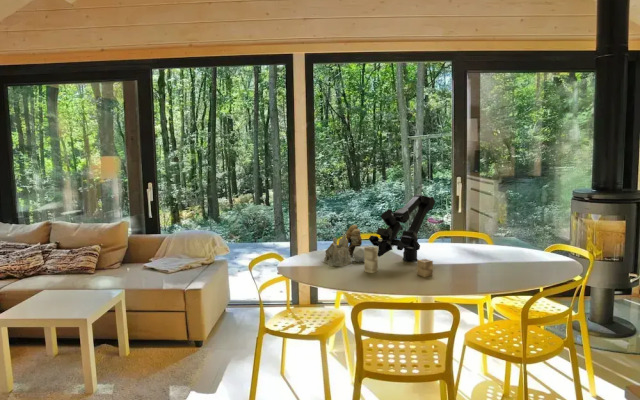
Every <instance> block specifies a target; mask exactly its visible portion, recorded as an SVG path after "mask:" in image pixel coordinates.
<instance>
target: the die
mask: <svg viewBox="0 0 640 400" xmlns="http://www.w3.org/2000/svg"><path fill="white" fill-rule="evenodd" d="M365 247H366V246H360V247H355V249H354V252H353V256H352V257H353V259H354V261H355V263H365Z"/></svg>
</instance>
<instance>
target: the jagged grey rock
mask: <svg viewBox="0 0 640 400" xmlns="http://www.w3.org/2000/svg"><path fill="white" fill-rule="evenodd" d="M337 243H338V244H337ZM349 245H350V243H348V239H347V238H346V234H343V236H342V237H341V238H339V240H338V242H337V237H333V239H332V242H331V244H330V245H329V247H328V248H326V250H325V257H324V259H323V262H324V263H326V264H327V265H329V266H331V265H332V267H344V266H348V265H350V264H352V256H350V252H349V251H348V249H349Z"/></svg>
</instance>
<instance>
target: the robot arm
mask: <svg viewBox="0 0 640 400" xmlns="http://www.w3.org/2000/svg"><path fill="white" fill-rule="evenodd" d="M435 204H436V201H435V199H434V197H433V196H426V195H423V194H414V195H413V196H412V198H411V199H409V201H408V202H407V203H406V204H405V205H404V206H403V207H402V208H399V209H397V210H395V211H394V212H393V210H392V209H390V208H389V209H387V210H385V211H383V212H382V213H381V215H380V218H381V219H382V221H383V222H384V223H385V225H386V226H388V227H387V228H383V227H378V228H377V230H376V235H369V237H368V240H369V241H370V242H369V243H371V244H372V245H373V247H378V257H379V258H380V257H382V256H383V255H385V254H386V253H388V252H389V251H393V248H394V246H395V247H396V250H398V251H403V252H402V253H403V256H402V260H404V261H406V262H409V263H410V262H417V260H419V259H418V251H419V250H420V248H421V245H420V243H419V242H418V240H419V239H418V233H419V231H420V229H421V226H422V224H423V222H424V220H425V217H426V216H427V213H428V212H430V211H432V209H433V207H434V206H435ZM417 207H418V209H417V211H416V213H415V216H414V218H413V220H412V222H411V224H410V226H409V228H408V230H404V227H403V225H402V224H406V223H408V221H409V219H410V217H411V216H410V215H411V213H413V212H414V210H415V209H416V208H417ZM403 230H404V231H403ZM399 231H403V232H402V235H401V236H400V239H398V234H399ZM377 235H379V237H380V238H379V237H378V236H377Z"/></svg>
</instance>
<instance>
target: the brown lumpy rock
mask: <svg viewBox="0 0 640 400" xmlns="http://www.w3.org/2000/svg"><path fill="white" fill-rule="evenodd" d="M345 235H346V239H348V244H349V245H348V246H349V249H348V251H349V252H350V257H353V252H354V249H355V247H362V244H363V240H362V235H361V230H360V229H359V228H358V225H357V224H352V225H350V226H349V228H348V229H347V230H346V232H345Z"/></svg>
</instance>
